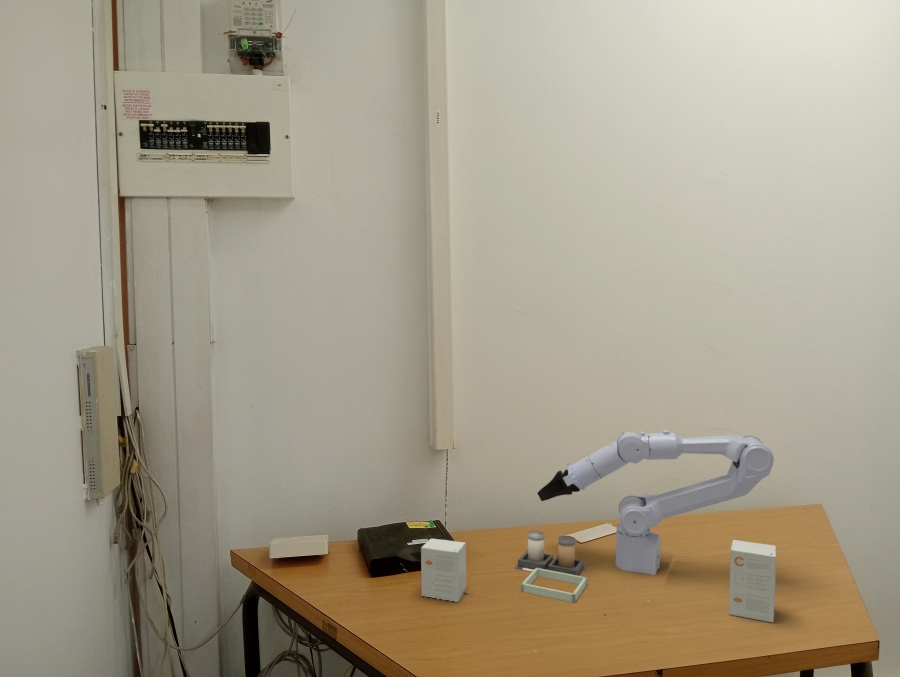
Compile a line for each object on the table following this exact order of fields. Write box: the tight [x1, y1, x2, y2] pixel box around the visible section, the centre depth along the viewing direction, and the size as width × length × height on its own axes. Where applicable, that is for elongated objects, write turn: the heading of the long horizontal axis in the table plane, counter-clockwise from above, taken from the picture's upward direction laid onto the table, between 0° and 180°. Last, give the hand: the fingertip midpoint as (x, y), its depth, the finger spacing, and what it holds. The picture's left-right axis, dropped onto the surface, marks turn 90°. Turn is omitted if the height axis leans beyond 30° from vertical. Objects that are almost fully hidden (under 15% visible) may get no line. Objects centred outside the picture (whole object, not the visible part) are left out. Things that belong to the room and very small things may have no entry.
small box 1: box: [420, 538, 467, 603], centre depth 144 cm, size 8×6×10 cm
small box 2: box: [728, 539, 777, 624], centre depth 137 cm, size 8×6×13 cm
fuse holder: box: [513, 549, 588, 576], centre depth 156 cm, size 14×9×2 cm, turn 64°
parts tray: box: [520, 568, 588, 603], centre depth 145 cm, size 11×9×2 cm
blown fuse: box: [557, 535, 576, 569], centre depth 154 cm, size 4×4×7 cm
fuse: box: [527, 530, 546, 563], centre depth 157 cm, size 4×4×7 cm
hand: (543, 495), depth 160 cm, fingers open, 7 cm apart
